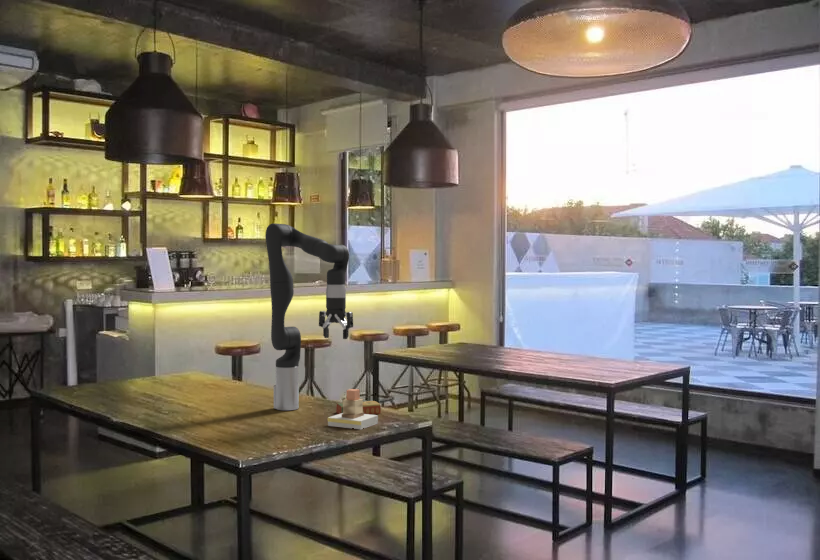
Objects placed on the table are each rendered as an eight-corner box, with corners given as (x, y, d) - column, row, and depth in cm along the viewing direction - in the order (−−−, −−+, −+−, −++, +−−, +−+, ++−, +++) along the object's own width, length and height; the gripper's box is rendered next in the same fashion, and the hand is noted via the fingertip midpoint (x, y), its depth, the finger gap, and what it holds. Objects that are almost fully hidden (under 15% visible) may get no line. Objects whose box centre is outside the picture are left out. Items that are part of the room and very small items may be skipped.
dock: (327, 425, 281) (327, 417, 281) (345, 419, 291) (345, 411, 291) (360, 429, 274) (360, 421, 274) (377, 423, 285) (377, 415, 285)
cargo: (346, 399, 282) (346, 390, 282) (351, 398, 285) (351, 388, 285) (354, 400, 280) (354, 390, 280) (359, 399, 284) (359, 389, 284)
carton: (380, 414, 304) (380, 403, 304) (341, 417, 299) (341, 406, 298) (374, 410, 312) (374, 400, 312) (336, 413, 306) (336, 402, 306)
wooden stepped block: (341, 417, 281) (341, 400, 281) (351, 414, 287) (351, 397, 287) (353, 418, 279) (353, 401, 278) (363, 415, 285) (363, 398, 285)
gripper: (314, 296, 297) (314, 338, 297) (346, 297, 291) (346, 340, 291) (325, 295, 304) (325, 336, 304) (356, 296, 297) (356, 338, 298)
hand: (335, 338), depth 298 cm, fingers open, 8 cm apart
